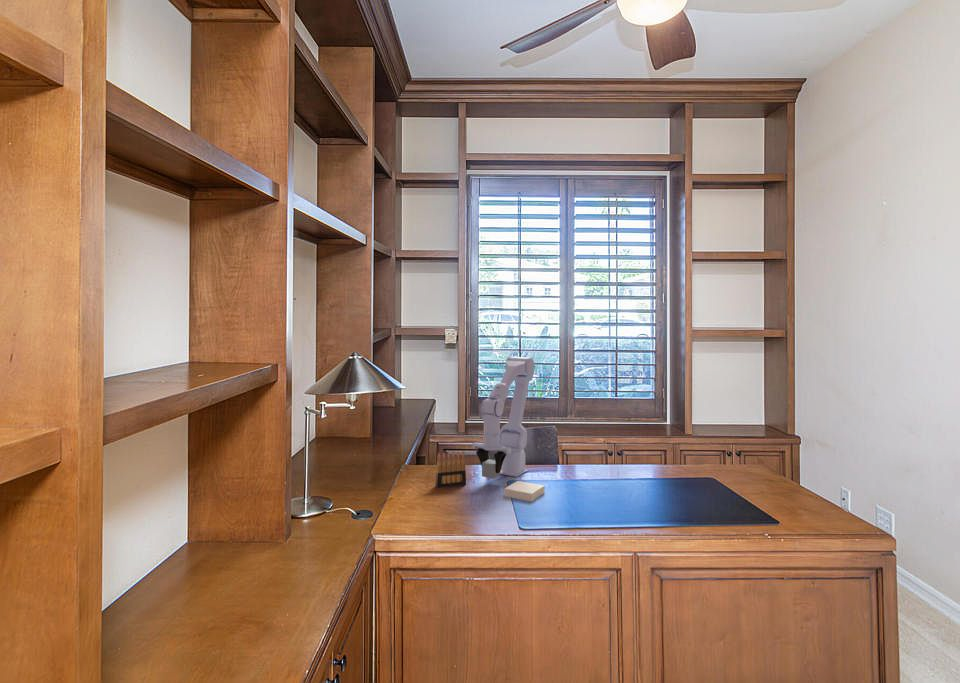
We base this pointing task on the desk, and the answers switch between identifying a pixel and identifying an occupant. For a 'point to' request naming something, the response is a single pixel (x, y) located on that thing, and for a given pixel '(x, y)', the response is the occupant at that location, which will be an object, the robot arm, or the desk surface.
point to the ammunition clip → (450, 470)
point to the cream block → (524, 491)
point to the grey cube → (489, 469)
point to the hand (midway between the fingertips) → (491, 471)
